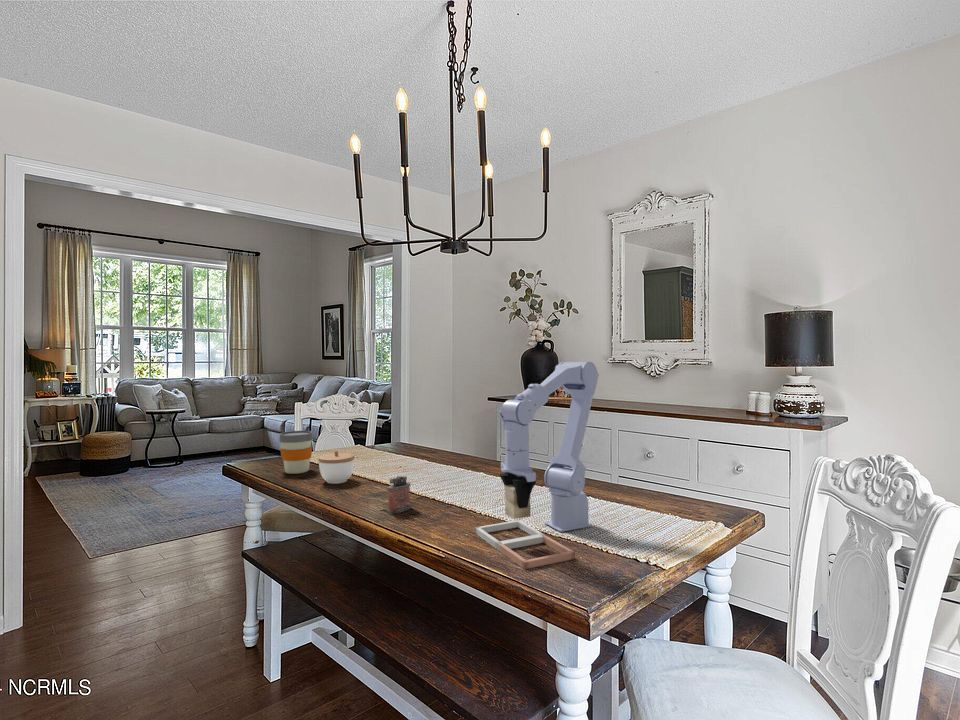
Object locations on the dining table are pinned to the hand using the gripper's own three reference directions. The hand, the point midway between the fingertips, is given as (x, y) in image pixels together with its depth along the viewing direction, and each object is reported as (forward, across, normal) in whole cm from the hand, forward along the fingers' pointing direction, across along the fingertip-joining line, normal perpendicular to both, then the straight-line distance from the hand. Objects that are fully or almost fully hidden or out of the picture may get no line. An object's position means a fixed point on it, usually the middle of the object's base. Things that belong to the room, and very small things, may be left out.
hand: (518, 504), depth 136 cm
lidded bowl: (+10, -85, -29) cm, 91 cm away
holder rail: (+9, +1, 0) cm, 10 cm away
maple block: (+2, 0, 0) cm, 3 cm away
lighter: (+10, -40, -18) cm, 45 cm away
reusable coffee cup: (+10, -110, -40) cm, 118 cm away
